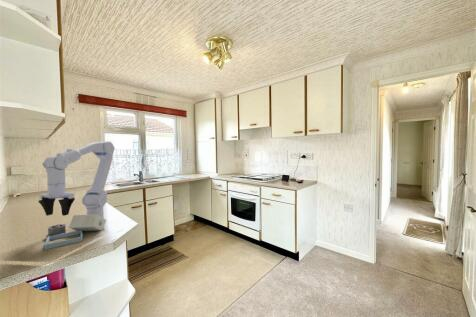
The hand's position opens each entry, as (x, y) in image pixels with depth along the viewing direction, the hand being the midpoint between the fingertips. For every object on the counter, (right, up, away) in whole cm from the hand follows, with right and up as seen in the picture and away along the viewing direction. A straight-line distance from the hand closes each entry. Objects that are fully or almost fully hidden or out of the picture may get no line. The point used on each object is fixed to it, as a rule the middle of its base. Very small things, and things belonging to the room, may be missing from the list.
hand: (57, 215), depth 85 cm
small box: (+15, -5, +5) cm, 17 cm away
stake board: (0, -10, +2) cm, 10 cm away
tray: (+8, -10, -5) cm, 14 cm away
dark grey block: (0, -9, 0) cm, 9 cm away
